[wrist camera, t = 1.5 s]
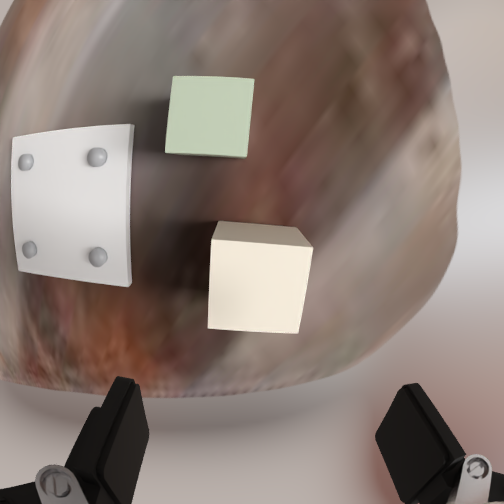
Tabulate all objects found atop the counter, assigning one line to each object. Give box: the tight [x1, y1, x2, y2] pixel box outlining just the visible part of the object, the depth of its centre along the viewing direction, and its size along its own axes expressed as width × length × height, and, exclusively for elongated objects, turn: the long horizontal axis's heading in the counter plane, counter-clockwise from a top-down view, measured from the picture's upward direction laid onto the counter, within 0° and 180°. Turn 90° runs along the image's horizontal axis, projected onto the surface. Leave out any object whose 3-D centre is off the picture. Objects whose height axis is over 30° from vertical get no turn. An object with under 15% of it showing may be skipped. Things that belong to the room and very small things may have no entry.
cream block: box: [208, 221, 313, 333], centre depth 22 cm, size 6×6×6 cm
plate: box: [11, 124, 135, 287], centre depth 22 cm, size 14×14×2 cm
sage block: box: [165, 76, 254, 159], centre depth 19 cm, size 5×5×6 cm
